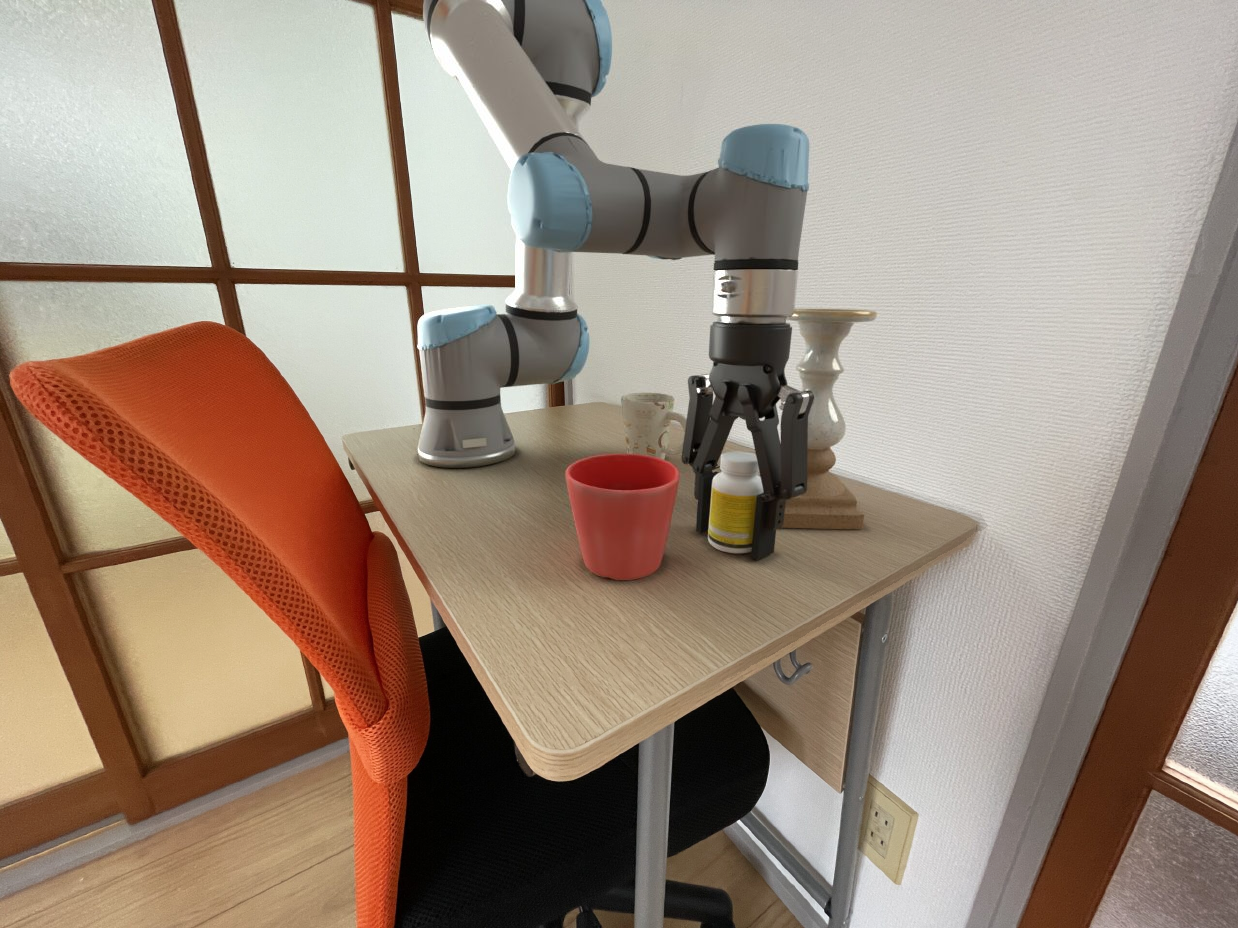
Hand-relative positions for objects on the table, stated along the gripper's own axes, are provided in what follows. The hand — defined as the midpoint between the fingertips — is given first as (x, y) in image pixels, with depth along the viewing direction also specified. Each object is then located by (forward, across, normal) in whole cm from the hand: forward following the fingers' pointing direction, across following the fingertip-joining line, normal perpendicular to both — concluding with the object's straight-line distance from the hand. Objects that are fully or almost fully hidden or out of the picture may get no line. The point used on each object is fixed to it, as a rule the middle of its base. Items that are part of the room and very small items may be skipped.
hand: (733, 541), depth 57 cm
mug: (0, -27, +13) cm, 30 cm away
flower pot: (0, -4, -12) cm, 13 cm away
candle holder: (0, -1, +14) cm, 14 cm away
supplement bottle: (0, 0, 0) cm, 0 cm away
